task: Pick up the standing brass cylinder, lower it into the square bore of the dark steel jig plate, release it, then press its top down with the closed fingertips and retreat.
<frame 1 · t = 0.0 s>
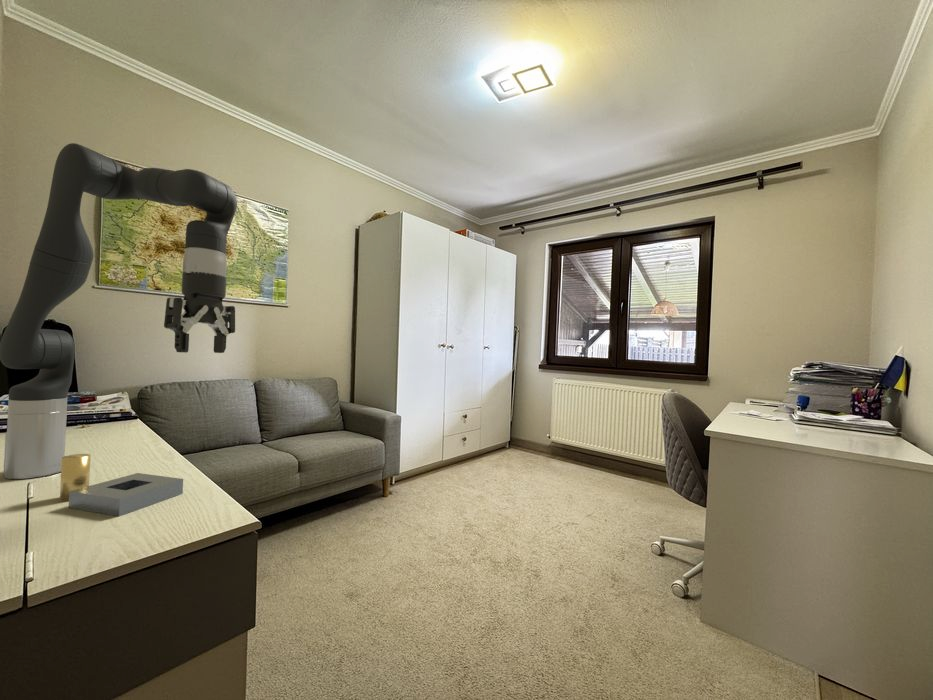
hand: (201, 352, 81), 29 cm above the table, tool pointing down, fingers open, 8 cm apart
jig: (128, 500, 76), on the table
brass cylinder: (74, 497, 77), on the table
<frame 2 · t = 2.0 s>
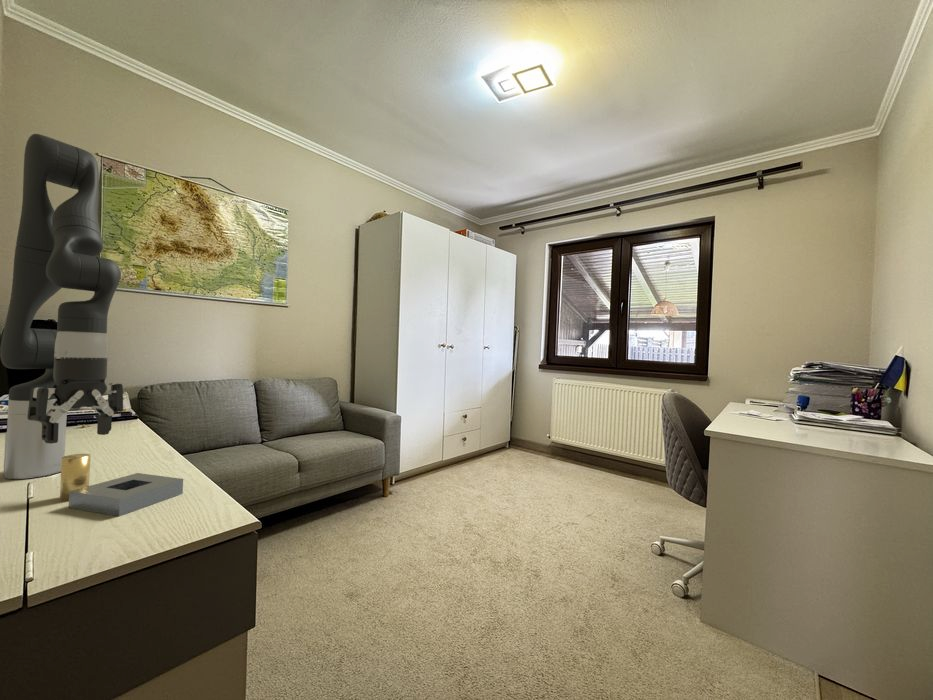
hand: (78, 438, 77), 11 cm above the table, tool pointing down, fingers open, 8 cm apart
nothing on the table moved.
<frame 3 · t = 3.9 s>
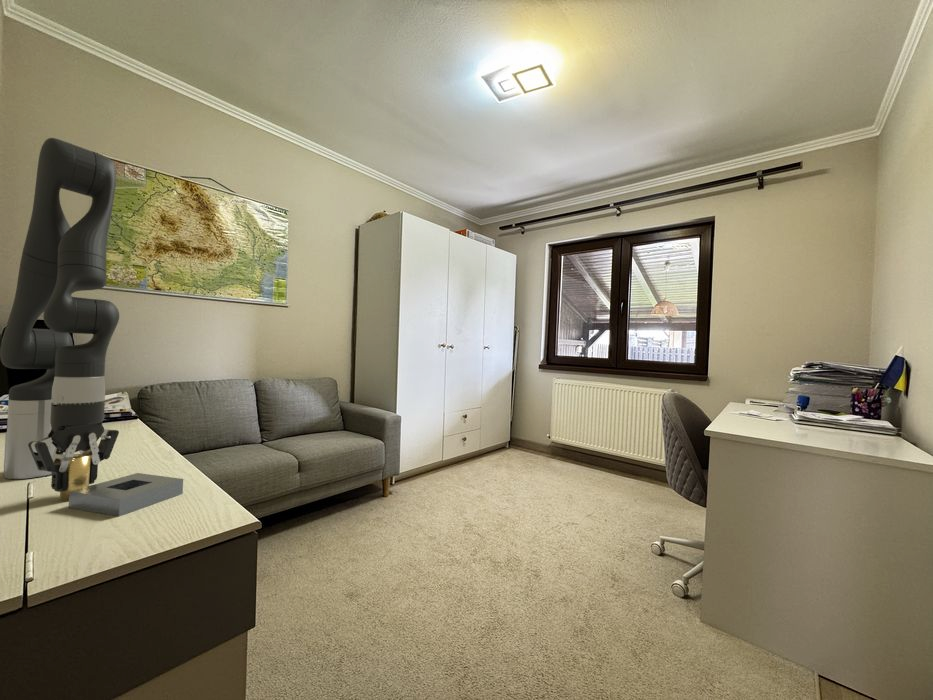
hand: (74, 486, 77), 2 cm above the table, tool pointing down, fingers closed on brass cylinder, 4 cm apart
brass cylinder: (74, 497, 77), on the table, touching gripper
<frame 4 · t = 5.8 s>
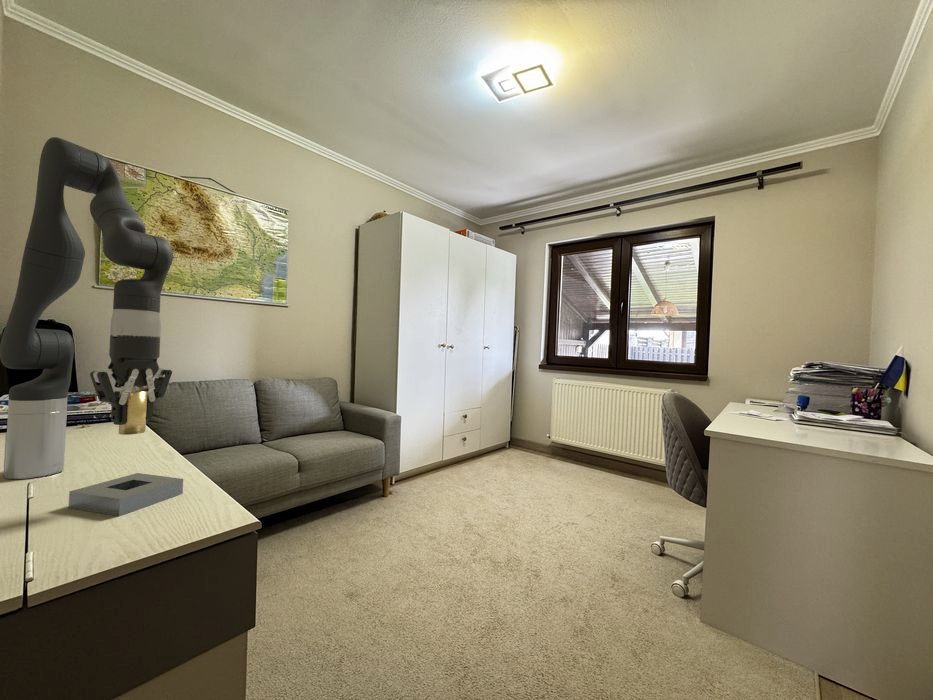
hand: (132, 422, 77), 15 cm above the table, tool pointing down, fingers closed on brass cylinder, 4 cm apart
brass cylinder: (132, 432, 77), point 13 cm above the table, touching gripper
when the fingers open (3 cm above the table, at t = 8.1 s): brass cylinder drops 1 cm, resting in jig.
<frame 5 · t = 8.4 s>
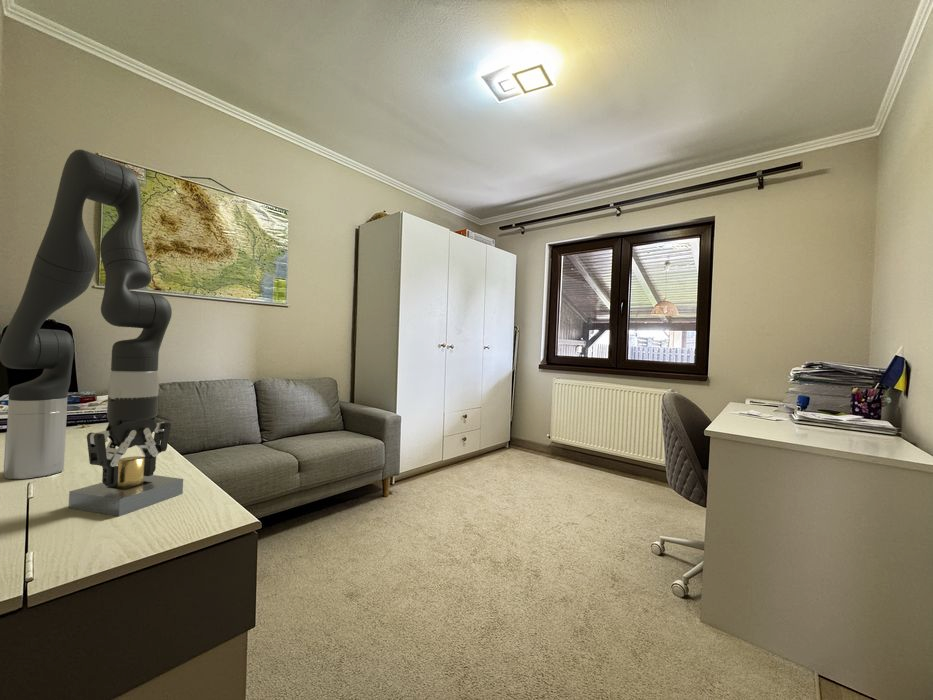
hand: (129, 480, 76), 4 cm above the table, tool pointing down, fingers open, 6 cm apart
brass cylinder: (129, 500, 76), resting in jig
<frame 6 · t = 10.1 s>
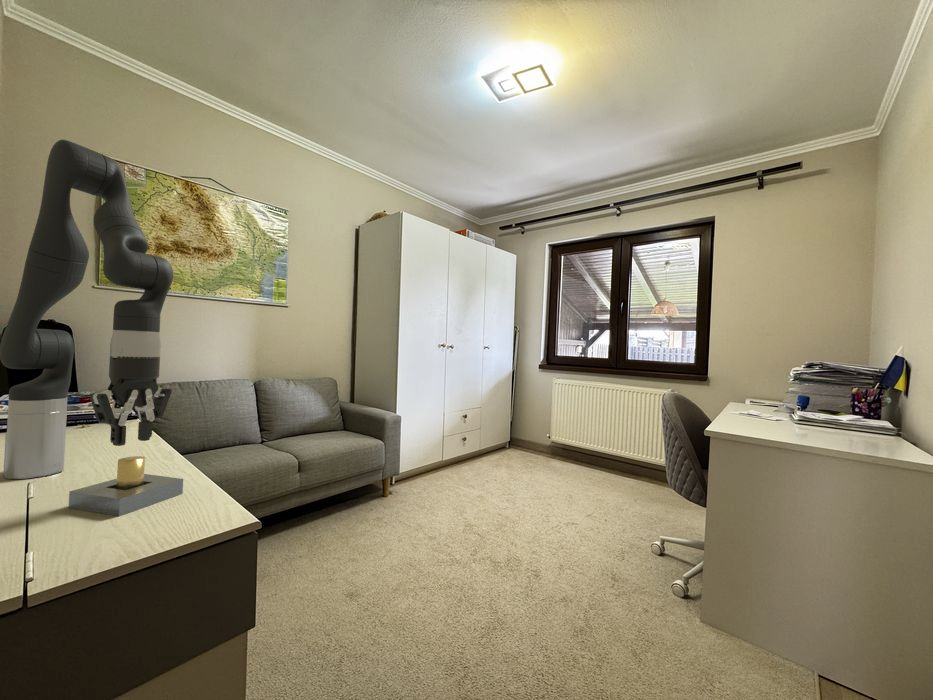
hand: (131, 442, 77), 11 cm above the table, tool pointing down, fingers open, 4 cm apart
nothing on the table moved.
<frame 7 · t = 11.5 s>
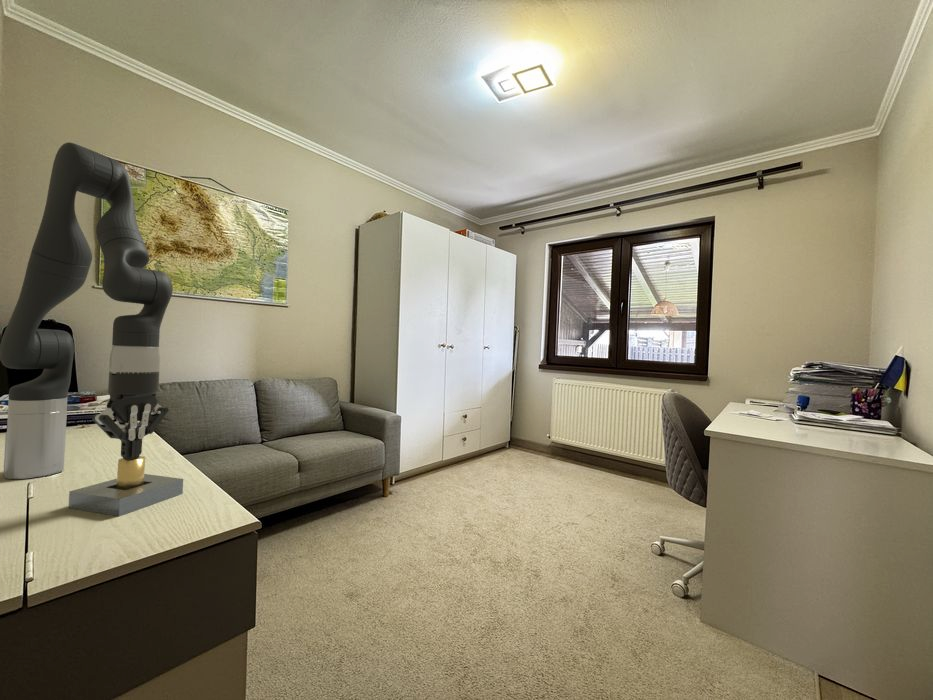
hand: (130, 458, 76), 8 cm above the table, tool pointing down, fingers closed
brass cylinder: (129, 500, 76), resting in jig, touching gripper
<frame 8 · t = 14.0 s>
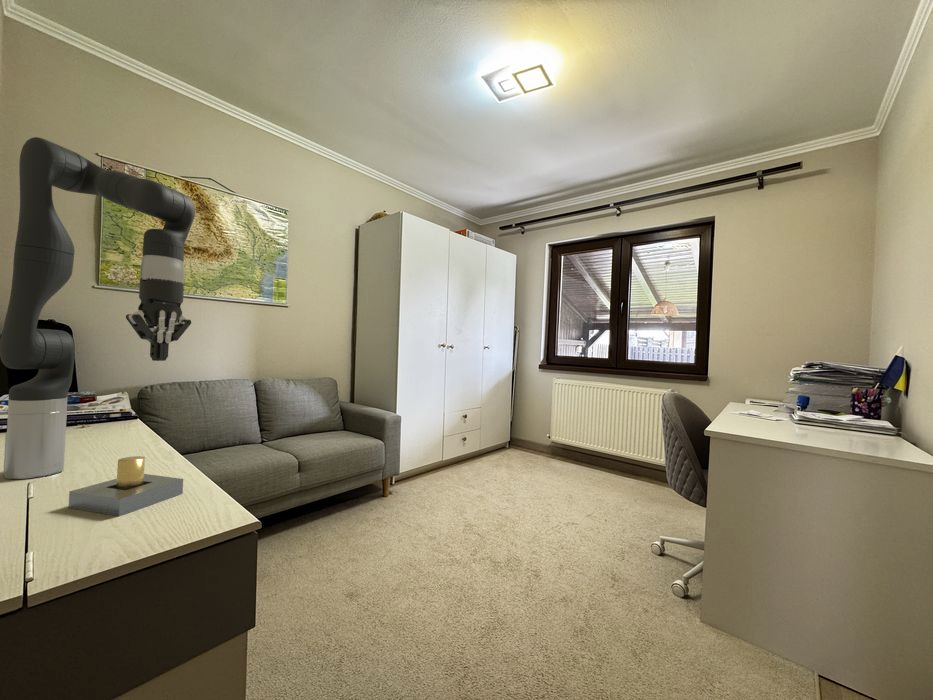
hand: (158, 360, 84), 27 cm above the table, tool pointing down, fingers closed
brass cylinder: (129, 500, 76), resting in jig
at the end: brass cylinder 0.0 cm off-centre on the jig, point 0.0 cm above the jig's base; brass cylinder tilted 1°; the gripper is holding nothing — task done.
